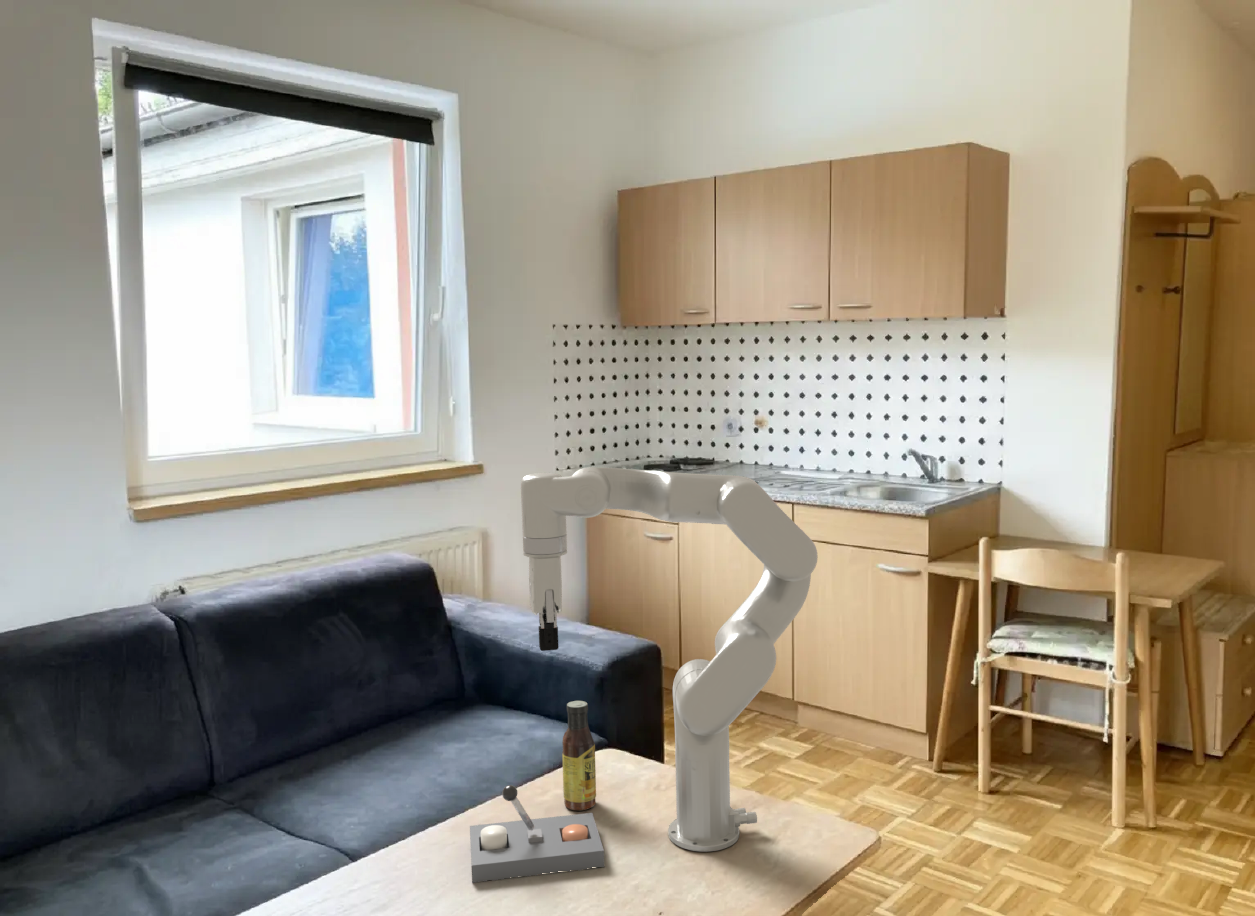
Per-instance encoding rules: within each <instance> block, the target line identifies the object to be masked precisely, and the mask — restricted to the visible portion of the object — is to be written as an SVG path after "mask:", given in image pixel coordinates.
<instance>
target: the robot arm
mask: <svg viewBox="0 0 1255 916" xmlns="http://www.w3.org/2000/svg"><path fill="white" fill-rule="evenodd" d="M520 481H521V482H520V499H521V502H520V503H521V520H522V521H521V524H522V549H523V551H522V552H523V554H522V555H523V556H525V557H526V558H529V559H528V575H529V576H528V577H529V578H528V579H529V584H528V585H529V605H530V609H531V612H532V614H533V615H535V616H538V619H539V620H538V621H539V625H538V643H539V645H538V646H539V647H538V648H539V649H540V651H542V652H545V651H546V652H547V651H557V650H559V647H560V646H559V627H558V624H557V623H558V619H557V618H558V616H557V614H559V613H561V612H562V607H563V605H562V604H563V601H562V600H563V599H562V598H563V596H562V595H563V593H562V592H563V590H562V589H563V588H562V587H563V586H562V561H561V560H562V559H561V556H565V555H567V554H568V541H567V540H568V539H567V538H568V536H567V535H568V534H567V533H568V531H567V517H576V518H582V519H583V518H586V519H587V518H589V519H590V518H594V517H597V516H599V515H601V514H602V513H603V512H604V511H605V510H606V509H607V510H623V511H624V510H625V511H630V512H631V511H633V512H637V513H642V514H646V515H648V516H650V517H652V518H655V519H657V520H661V521H665V522H670V523H671V522H672V523H684V524H685V523H687V524H688V523H689V524H690V523H697V524H712V525H726V526H727V527H728V528H729V530H730V531H731V532H732V533H733V534H734V535H735V536H736V537H737V538H738V539H739V541H740V542H741V543H742V544H743V545H744V546H745V547H746V548H747V549H748V550H749V551H750V552H751V553H752V554H753V555H754V556H755V558H757V560H759V561H760V562H761V563H762V564H763V569H762V574H761V576H760V579H759V581H758V583H756V586H755V587H754V588H753V589H752V591H751V592H750V594H749V595H748V596H747V598H746V599H745V600H743V602H742V603H741V605H740V606H739V607H738V608H737V609H736V610H735V611H734V613H733V614H731V616H730V617H729V618H728V619H727V620H726V621H725V622H724V623H723V625H722V626H720V628H719V630H718V631H717V633H716V634H715V637H714V638H715V639H714V649H715V655H714V657H713V658H712V659H711V660H708V659H703V658H702V659H701V658H695V659H691V660H690V661H689V660H688V661H687V662H685V663H684V664H683V665H682V666H681V667H680V668H679V669H678V670H677V672H676V673H675V675H674V676H675V677H674V679H673V683H672V684H673V685H672V701H673V703H672V704H673V717H674V719H673V720H674V743H675V745H674V746H675V747H674V749H675V751H674V756H675V758H674V759H675V794H676V796H675V799H676V800H675V801H676V819H674V820H673V821H671V823H670V824H669V825H668V829H667V831H668V833H667V834H668V838H669V839H670V841H671V842H672V843H673V844H675V845H676V846H677V847H680V848H681V849H685V850H688V851H692V852H701V853H702V852H705V853H707V852H716V851H721V850H725V849H727V848H729V847H731V846H733V845H734V844H735V843H737V841H738V840H739V838H740V827H741V825H745V824H747V825H751V824H757V823H758V815H757V812H756V811H749V812H747V810H746V809H747V808H746V807H739V808H733V807H731V790H730V789H731V784H730V783H731V782H730V781H731V779H730V772H731V771H730V729H729V726H730V725H731V724H732V723H733V722H734V721H735V720H736V719H737V718H738V717H739V716H740V714H741V713H742V712H743V711H744V710H745V709H746V708H747V706H748V705H749V704H750V703H751V702H752V701H753V699H755V698H756V696H757V695H758V693H760V691H762V690H763V688H765V686H766V685H767V684H768V681H769V680H770V678H771V677H772V675H773V673H774V670H775V668H776V664H777V652H776V648H775V643H776V642H777V641H778V639H779V638H780V637H781V636H782V635H783V633H784V632H785V631H786V629H787V628H788V627H789V625H790V624H791V623H792V621H793V620H794V619H795V618H796V616H797V615H798V614H799V613H800V611H801V609H802V608H803V606H804V604H805V602H806V599H807V597H808V594H809V591H810V590H809V589H810V586H811V585H810V584H811V578H812V573H813V572H814V570H815V569H816V566H817V564H818V550H817V546H816V545H815V543H814V541H813V540H812V539H811V537H810V536H809V535H807V533H805V531H804V530H803V529H802V528H801V527H800V526H798V524H796V523H795V521H794V520H792V518H791V517H790V516H789V515H787V514H786V512H785V511H783V509H782V508H781V507H779V505H778V504H777V503H776V502H775V501H774V500H773V499H772V497H771V496H770V495H769V494H768V493H767V491H765V490H764V488H763V487H761V485H759V484H758V483H757V482H756V481H755V480H754V479H752V478H750V477H747V476H741V475H731V474H713V473H712V474H709V473H691V472H689V473H688V472H687V473H685V472H677V471H676V472H675V471H674V472H672V471H662V470H661V471H659V470H645V469H635V468H622V467H621V468H620V467H605V466H604V467H603V466H602V467H600V466H599V467H598V466H587V467H583V468H580V469H577V470H576V471H575V472H574V473H573V474H572V475H570V476H563V475H561V474H559V473H555V472H535V473H530V474H526V475H525V476H523V477H522V479H521V480H520Z"/></svg>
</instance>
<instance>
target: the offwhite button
mask: <svg viewBox="0 0 1255 916" xmlns="http://www.w3.org/2000/svg"><path fill="white" fill-rule="evenodd" d="M503 848H507V830H506V828H505V827H503V826H500V825H492V826H488V827H485V828H483V829H482V830H481V851H485V850H494V849H503Z"/></svg>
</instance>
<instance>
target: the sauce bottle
mask: <svg viewBox="0 0 1255 916" xmlns="http://www.w3.org/2000/svg"><path fill="white" fill-rule="evenodd" d="M588 711H589V705H588V703H587V702H586V701H583V700H574V701H569V702H568V703H566V712H567V729H566V731H565V732H564V734H563V736H562V785H563V787H562V788H563V790H562V791H563V800H564V802H563V803H564V806H565V807H566V808H567V809H568V810H571V811H578V812H579V811H580V812H581V811H585V810H586V811H587V810H589V809H591V808H593V807H594V806H595V805H596V797H597V779H596V775H597V774H596V773H597V772H596V744H595V740H594V737H593V736H592V733H591V730H590V727H589V722H588Z"/></svg>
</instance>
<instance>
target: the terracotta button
mask: <svg viewBox="0 0 1255 916" xmlns="http://www.w3.org/2000/svg"><path fill="white" fill-rule="evenodd" d="M562 836H563V842H566V841H575V840H584V839H588V829H587V827H586V826H584V825H580V824H573V825H568V826H566V827H564V828H563V830H562Z"/></svg>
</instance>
